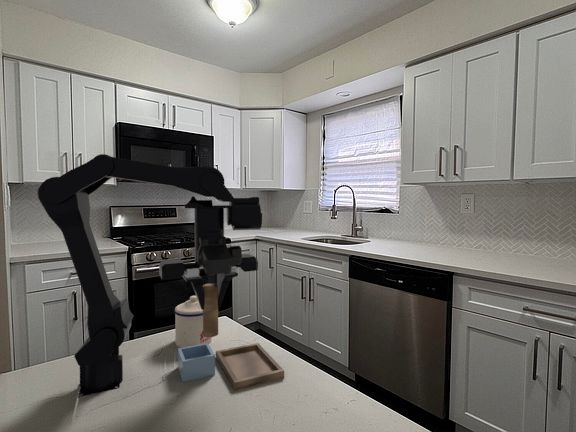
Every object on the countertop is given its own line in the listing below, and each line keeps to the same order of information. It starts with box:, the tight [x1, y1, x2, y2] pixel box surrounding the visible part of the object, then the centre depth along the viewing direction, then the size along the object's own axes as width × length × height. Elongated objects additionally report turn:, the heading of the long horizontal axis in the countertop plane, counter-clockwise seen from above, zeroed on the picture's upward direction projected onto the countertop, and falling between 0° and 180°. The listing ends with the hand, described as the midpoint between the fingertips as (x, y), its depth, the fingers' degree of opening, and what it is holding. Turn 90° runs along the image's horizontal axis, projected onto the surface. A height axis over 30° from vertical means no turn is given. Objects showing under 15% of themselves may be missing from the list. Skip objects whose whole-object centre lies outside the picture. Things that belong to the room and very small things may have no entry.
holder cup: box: [177, 343, 216, 383], centre depth 67 cm, size 6×6×4 cm
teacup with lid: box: [173, 295, 213, 348], centre depth 82 cm, size 12×9×12 cm
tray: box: [215, 342, 285, 391], centre depth 68 cm, size 10×14×2 cm
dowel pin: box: [202, 283, 219, 338], centre depth 67 cm, size 3×3×10 cm
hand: (210, 307), depth 67 cm, fingers closed on dowel pin, 3 cm apart
